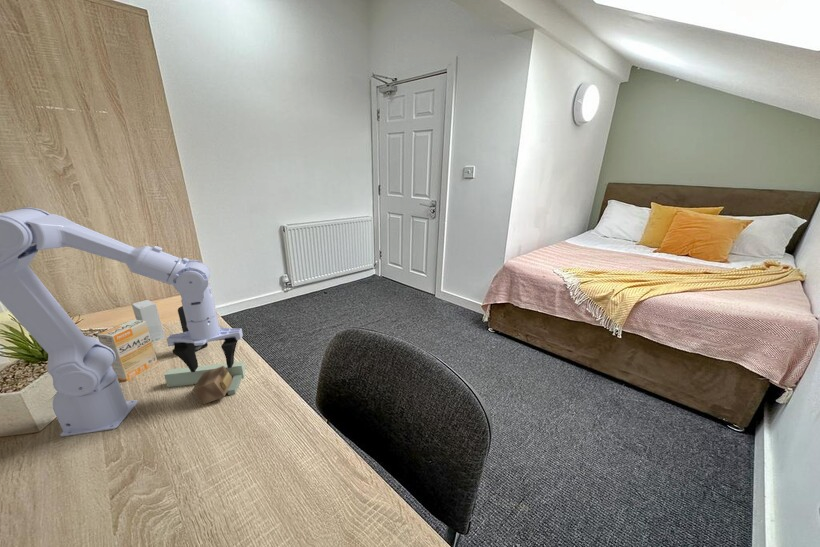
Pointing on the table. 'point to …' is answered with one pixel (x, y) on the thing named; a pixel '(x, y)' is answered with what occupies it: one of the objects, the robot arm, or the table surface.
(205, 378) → the brown block
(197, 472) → the table surface
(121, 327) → the supplement box
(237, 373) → the green l-shaped block
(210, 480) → the table surface
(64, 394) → the robot arm
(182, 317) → the remote control
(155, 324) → the skincare box
